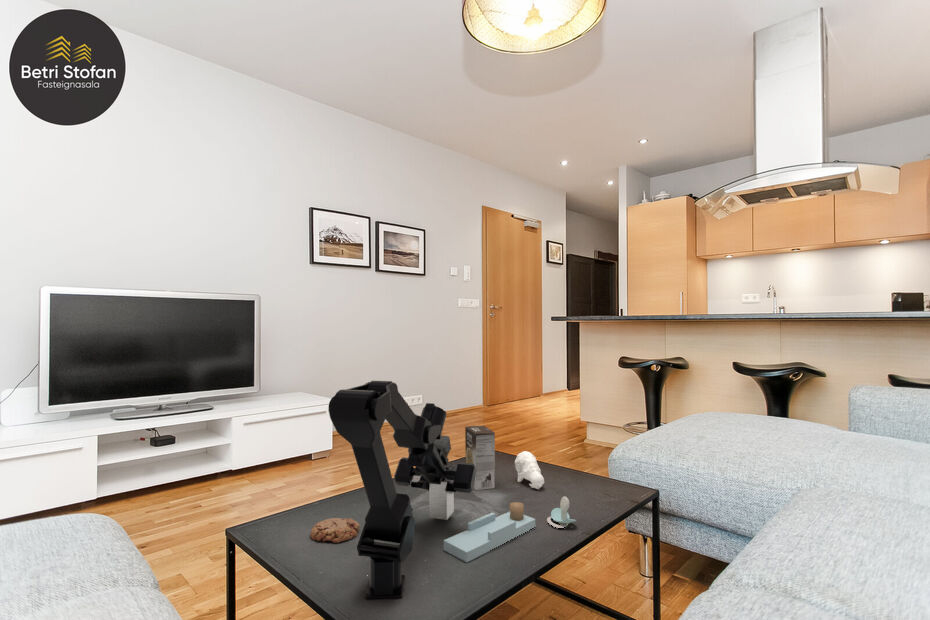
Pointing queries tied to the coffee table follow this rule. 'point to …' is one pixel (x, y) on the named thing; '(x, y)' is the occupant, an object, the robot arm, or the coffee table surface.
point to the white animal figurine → (528, 469)
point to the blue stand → (489, 533)
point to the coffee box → (481, 455)
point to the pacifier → (561, 514)
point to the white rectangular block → (440, 501)
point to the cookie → (335, 530)
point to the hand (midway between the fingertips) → (443, 491)
